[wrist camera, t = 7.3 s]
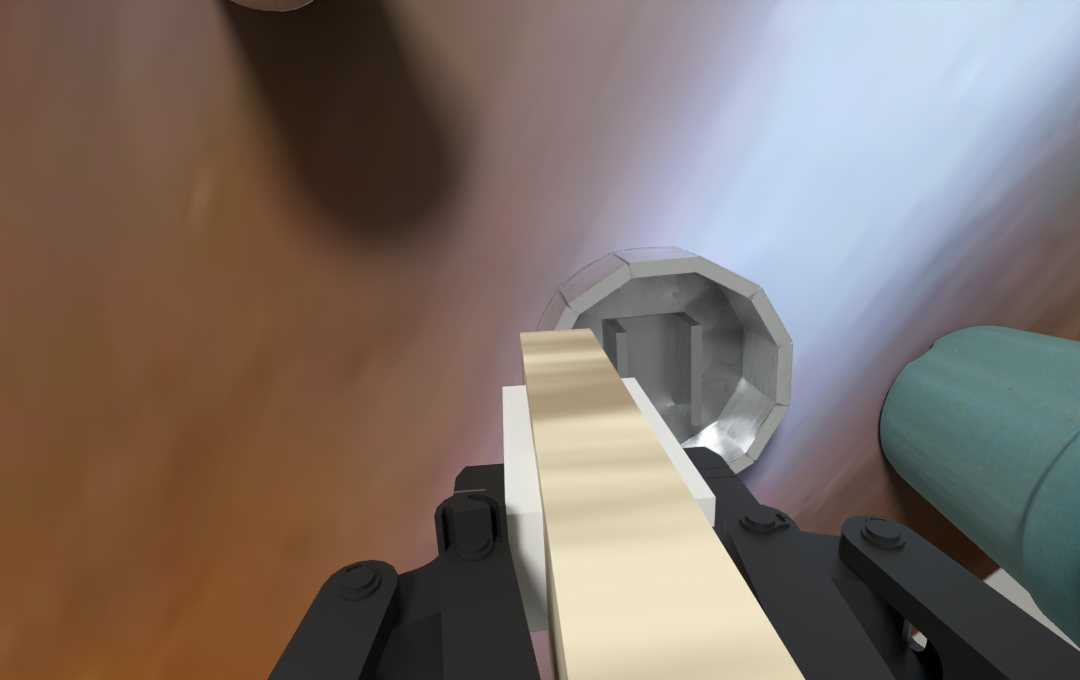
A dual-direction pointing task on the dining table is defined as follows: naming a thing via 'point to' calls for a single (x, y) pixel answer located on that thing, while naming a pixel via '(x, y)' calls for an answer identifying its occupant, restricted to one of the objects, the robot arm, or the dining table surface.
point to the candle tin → (687, 344)
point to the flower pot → (999, 452)
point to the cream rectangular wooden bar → (629, 538)
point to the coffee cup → (273, 4)
